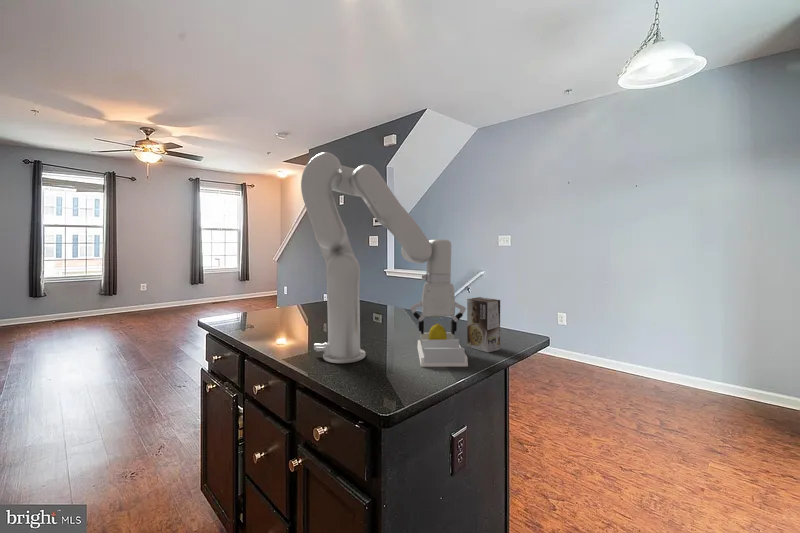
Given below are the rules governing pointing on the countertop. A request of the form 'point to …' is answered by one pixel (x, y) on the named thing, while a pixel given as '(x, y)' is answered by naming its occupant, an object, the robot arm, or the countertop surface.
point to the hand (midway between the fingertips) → (437, 333)
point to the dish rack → (441, 352)
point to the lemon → (437, 333)
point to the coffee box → (483, 324)
